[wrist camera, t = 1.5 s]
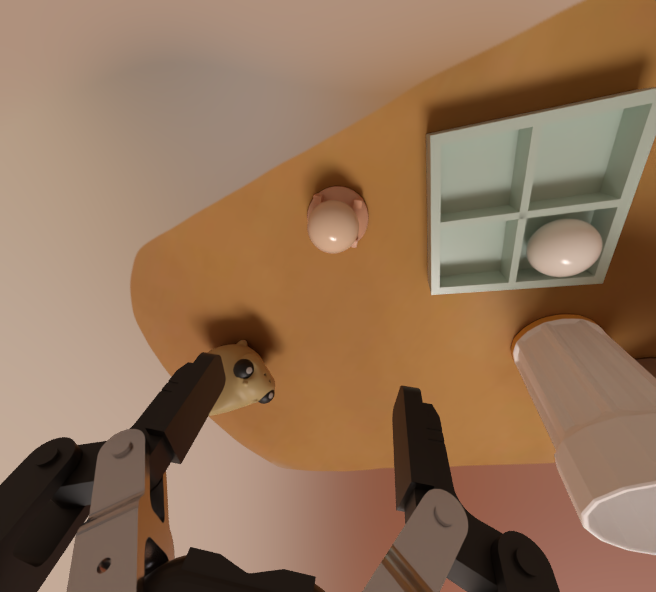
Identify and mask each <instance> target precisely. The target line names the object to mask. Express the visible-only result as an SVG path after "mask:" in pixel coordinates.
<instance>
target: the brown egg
mask: <svg viewBox="0 0 656 592" xmlns="http://www.w3.org/2000/svg"><path fill="white" fill-rule="evenodd" d="M307 230H308V235H309V237H310V240H311V241H312V243H313V244H314V245H315V246H316V247H317V248H318V249H320V250H321V251H324V252H327V253H340V252H343V251H345V250H347V249H348V248H349V247H350V246H351V245H352V244H353V243H354V242H355V240H356V238H357V236H358V232H359V221H358V217H357V215H356V213H355V211H354V210H353V209H352V208H351V207H350V206H349V205H348V204H346V203H344V202H342V201H338V200H328V201H325V202H322V203H321V204H319V205H318V206H316V207H315V208H314V209H313V211H312V212H311V214H310V216H309V219H308V224H307Z"/></svg>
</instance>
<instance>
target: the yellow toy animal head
mask: <svg viewBox="0 0 656 592" xmlns="http://www.w3.org/2000/svg"><path fill="white" fill-rule="evenodd" d="M208 353H211V354H217V355H220V356H221V359H222V363H223V367H224V372H225V376H226V381H225V386H224V389H223V391H222V393H221V394H220V396H219V398H218V400H217V401H216V403H215V405H214V407H213V408H212V410H211V412H210V414H209V415H208V416H211V415H216V414H221V413H225V412H229V411H232V410H236V409H239V408H242V407H245V406H247V405H250V404H252V403H257V402H260V403H263V404H265V403H268V402H270V401H271V400H272V399H273V397H274V390H275V381H274V378H273V377H272V375H271V374H270V372H269V370H268V369H267V367H266V366H265V364H264V362H263V360H262V358H261V357H260V356H259V354H258V353H257V352H255V351H254V350H253V349H251V348H249V347H248V343H247V341H245V340H240V341H239V342H238V343H237V344H230V345H224V346H220V347H217V348H215V349H213V350H211V351H209V352H208Z"/></svg>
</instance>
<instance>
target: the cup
mask: <svg viewBox="0 0 656 592" xmlns="http://www.w3.org/2000/svg"><path fill="white" fill-rule="evenodd" d="M511 354H512V357H513V360H514V362H515V364H516V366H517V368H518V370H519V372H520V375H521V377H522V379H523V381H524V383H525V385H526V387H527V389H528V392H529V394H530V396H531V398H532V400H533V402H534V404H535V406H536V408H537V411H538V413H539V415H540V417H541V419H542V421H543V423H544V425H545V428H546V430H547V432H548V434H549V436H550V438H551V440H552V442H553V445H554V447H555V449H556V453H555V455H554V456H555V461H556V466H557V470H558V472H559V474H560V476H561V478H562V481H563V483H564V485H565V487H566V490H567V492H568V494H569V497H570V499H571V501H572V503H573V505H574V508H575V510H576V512H577V514H578V516H579V519H580V521H581V523H582V526H583V527H584V528H585V529H586V530H588V531H589V532H590V533H592V534H593V535H594V536H596V537H597V538H598V539H599V540H601V541H603V542H606V543H609V544H612V545H614V546H617V547H620V548H623V549H625V550H629V551H635V552H641V553H647V554H653V555H656V378H655V377H654V376H652V375H651V374H650V373H649V372H648V371H647V370H646V369H645V368H644V367H643V366H641V365H640V364H639V363H638V362H637V361H636V360H635V359H634V358H633V357H631V356H630V355H629V354H628V353H627V352H626V351H625V350H624V349H623V348H622V347H620V346H619V345H618V344H617V343H616V342H615V341H614V340H613V339H612V338H610V337H609V336H608V335H607V334H606V333H605V331H604V330H603V329H602V328H601V327H600V326H598V325H597V324H596V323H595V322H594V321H593V320H591V319H588V318H586V317H583V316H580V315H572V314H560V315H554V316H549V317H545V318H541V319H539V320H537V321H535V322H533V323H531V324H529V325H528V326H526V327H524V328H523V329H522V330H521V331H520V332H519V333H518V334H517V335H516V336H515V337H514V339H513V342H512V346H511Z"/></svg>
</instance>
